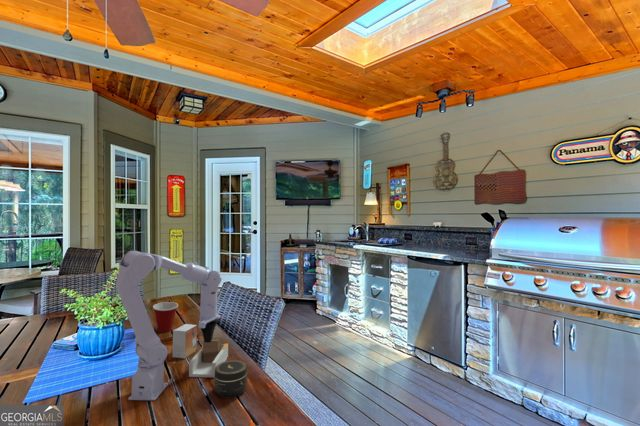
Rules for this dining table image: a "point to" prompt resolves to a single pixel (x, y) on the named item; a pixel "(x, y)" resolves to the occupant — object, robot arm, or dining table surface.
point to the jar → (230, 378)
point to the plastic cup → (165, 315)
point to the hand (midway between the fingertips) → (207, 341)
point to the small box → (184, 341)
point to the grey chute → (206, 363)
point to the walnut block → (212, 348)
